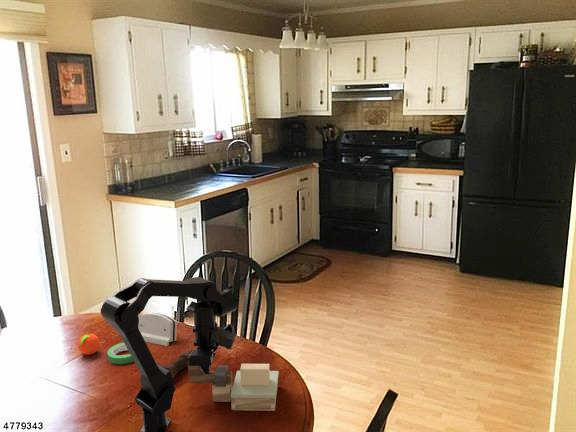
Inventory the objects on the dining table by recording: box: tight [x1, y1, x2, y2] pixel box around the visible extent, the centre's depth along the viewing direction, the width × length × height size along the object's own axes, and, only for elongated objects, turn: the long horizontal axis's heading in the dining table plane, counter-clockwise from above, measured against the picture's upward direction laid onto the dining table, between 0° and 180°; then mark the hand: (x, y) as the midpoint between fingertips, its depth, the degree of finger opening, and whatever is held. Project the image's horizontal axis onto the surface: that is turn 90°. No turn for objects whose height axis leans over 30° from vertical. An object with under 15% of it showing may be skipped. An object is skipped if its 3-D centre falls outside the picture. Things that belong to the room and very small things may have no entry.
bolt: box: [161, 349, 194, 380], centre depth 161 cm, size 6×5×15 cm
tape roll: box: [107, 342, 134, 365], centre depth 171 cm, size 11×11×3 cm
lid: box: [231, 363, 280, 399], centre depth 144 cm, size 12×12×6 cm
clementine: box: [77, 333, 101, 356], centre depth 172 cm, size 8×7×7 cm
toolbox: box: [211, 365, 279, 411], centre depth 145 cm, size 12×18×9 cm, turn 87°
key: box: [187, 365, 233, 384], centre depth 144 cm, size 3×12×6 cm, turn 87°
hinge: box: [138, 312, 178, 347], centre depth 183 cm, size 17×5×10 cm, turn 66°
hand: (207, 372), depth 144 cm, fingers closed
